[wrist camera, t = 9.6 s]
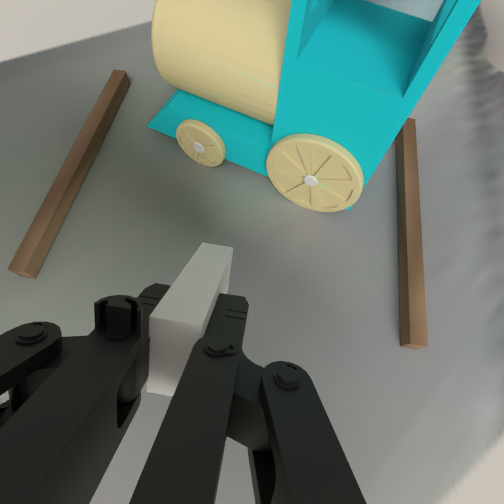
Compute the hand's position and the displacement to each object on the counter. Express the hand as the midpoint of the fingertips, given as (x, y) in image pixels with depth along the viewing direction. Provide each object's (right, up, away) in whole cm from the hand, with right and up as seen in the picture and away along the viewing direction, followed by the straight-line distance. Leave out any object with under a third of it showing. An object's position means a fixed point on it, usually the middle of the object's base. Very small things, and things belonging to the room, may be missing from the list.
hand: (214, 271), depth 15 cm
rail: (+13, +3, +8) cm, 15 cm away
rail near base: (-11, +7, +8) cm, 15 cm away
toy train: (+2, +9, +10) cm, 14 cm away
